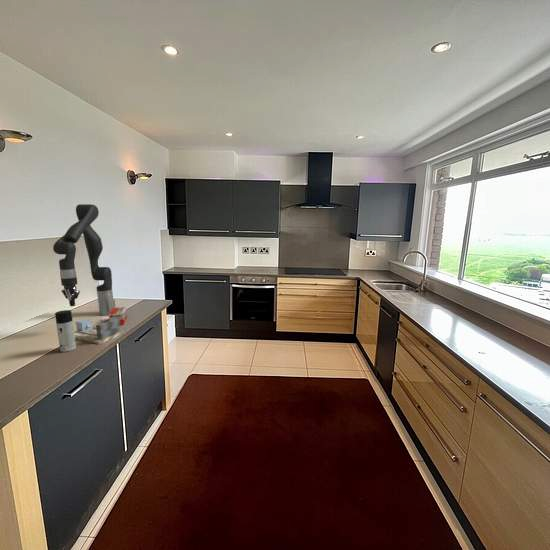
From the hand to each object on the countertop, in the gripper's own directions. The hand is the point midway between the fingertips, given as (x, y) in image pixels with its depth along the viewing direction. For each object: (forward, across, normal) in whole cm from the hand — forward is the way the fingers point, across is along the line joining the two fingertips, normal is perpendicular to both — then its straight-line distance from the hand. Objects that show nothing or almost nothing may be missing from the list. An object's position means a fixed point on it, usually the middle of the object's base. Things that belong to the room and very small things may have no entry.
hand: (72, 305), depth 169 cm
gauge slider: (+14, -9, +2) cm, 17 cm away
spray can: (+16, -21, +18) cm, 32 cm away
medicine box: (+16, -10, -21) cm, 28 cm away
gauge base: (+16, -17, 0) cm, 23 cm away
